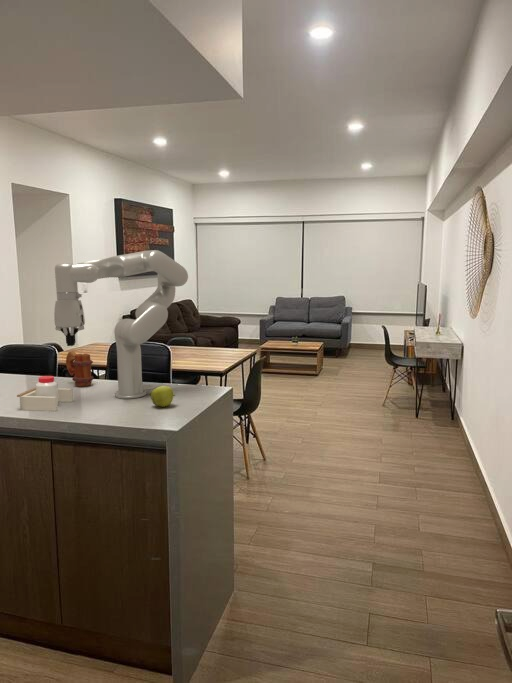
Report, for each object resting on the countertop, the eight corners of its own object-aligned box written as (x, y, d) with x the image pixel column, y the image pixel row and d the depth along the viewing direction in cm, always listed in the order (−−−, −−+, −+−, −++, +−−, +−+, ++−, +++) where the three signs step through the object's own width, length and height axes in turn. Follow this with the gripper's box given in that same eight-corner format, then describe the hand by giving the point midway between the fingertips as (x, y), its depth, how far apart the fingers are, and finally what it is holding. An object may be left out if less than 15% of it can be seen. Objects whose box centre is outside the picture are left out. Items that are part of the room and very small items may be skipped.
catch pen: (73, 401, 200) (72, 387, 199) (55, 411, 186) (54, 396, 185) (38, 400, 201) (37, 386, 201) (17, 409, 187) (16, 395, 186)
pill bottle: (48, 401, 198) (47, 374, 197) (62, 404, 195) (61, 376, 193) (31, 406, 192) (30, 377, 190) (45, 409, 188) (44, 380, 186)
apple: (178, 407, 191) (178, 386, 190) (155, 410, 186) (154, 389, 185) (171, 402, 198) (170, 382, 196) (148, 405, 193) (147, 385, 192)
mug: (98, 385, 228) (96, 352, 225) (83, 388, 221) (81, 354, 219) (76, 381, 235) (74, 349, 233) (61, 384, 228) (59, 351, 226)
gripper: (91, 296, 193) (94, 343, 195) (52, 296, 194) (56, 344, 196) (83, 297, 185) (86, 347, 188) (43, 297, 186) (47, 347, 189)
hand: (71, 345), depth 192 cm, fingers closed
